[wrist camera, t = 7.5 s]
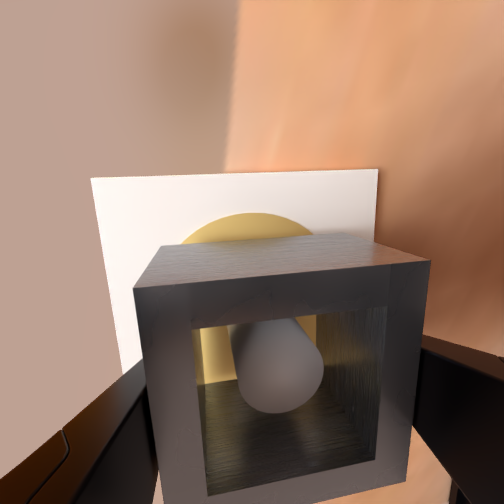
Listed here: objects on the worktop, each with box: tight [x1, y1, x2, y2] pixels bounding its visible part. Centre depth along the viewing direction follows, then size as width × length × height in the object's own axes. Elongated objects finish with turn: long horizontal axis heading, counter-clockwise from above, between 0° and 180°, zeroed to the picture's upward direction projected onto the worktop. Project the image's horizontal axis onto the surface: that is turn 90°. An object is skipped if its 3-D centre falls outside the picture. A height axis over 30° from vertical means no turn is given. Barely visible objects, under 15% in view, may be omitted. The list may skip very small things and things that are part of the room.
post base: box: [91, 169, 378, 413], centre depth 10 cm, size 11×11×6 cm
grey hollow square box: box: [132, 233, 431, 504], centre depth 8 cm, size 6×6×4 cm
